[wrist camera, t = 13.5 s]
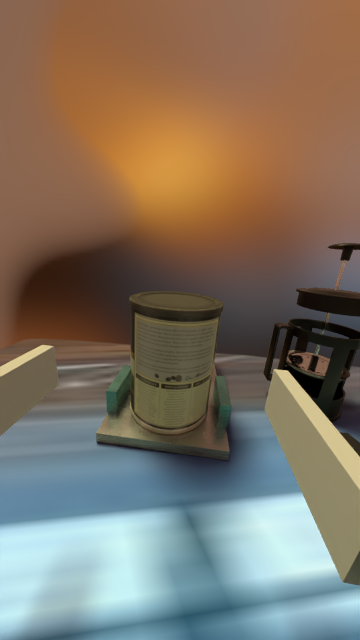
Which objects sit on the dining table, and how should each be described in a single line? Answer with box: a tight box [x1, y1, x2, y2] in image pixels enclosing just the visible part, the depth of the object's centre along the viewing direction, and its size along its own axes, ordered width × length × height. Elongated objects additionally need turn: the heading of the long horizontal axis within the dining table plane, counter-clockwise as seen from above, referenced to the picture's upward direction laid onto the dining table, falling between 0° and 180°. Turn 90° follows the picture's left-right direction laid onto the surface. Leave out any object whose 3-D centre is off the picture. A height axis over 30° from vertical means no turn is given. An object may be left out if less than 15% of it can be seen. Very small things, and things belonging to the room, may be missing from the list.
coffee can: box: [130, 291, 223, 435], centre depth 24 cm, size 10×10×14 cm
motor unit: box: [96, 363, 231, 460], centre depth 29 cm, size 14×21×11 cm
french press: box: [264, 243, 360, 422], centre depth 27 cm, size 12×9×23 cm
